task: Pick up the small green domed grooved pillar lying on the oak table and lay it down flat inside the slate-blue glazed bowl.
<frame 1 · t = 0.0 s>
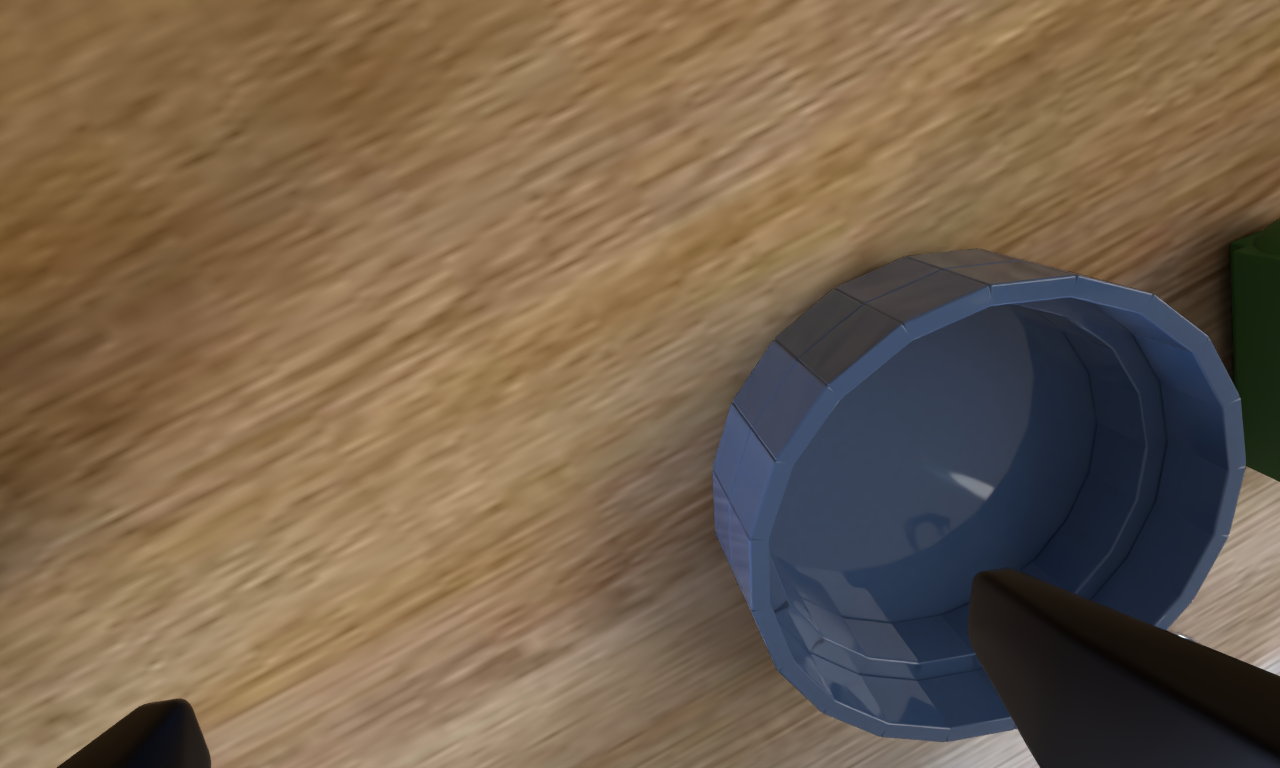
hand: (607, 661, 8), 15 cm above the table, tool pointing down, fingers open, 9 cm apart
bowl: (917, 462, 25), on the table
green domed grooved pillar: (1262, 340, 26), on the table
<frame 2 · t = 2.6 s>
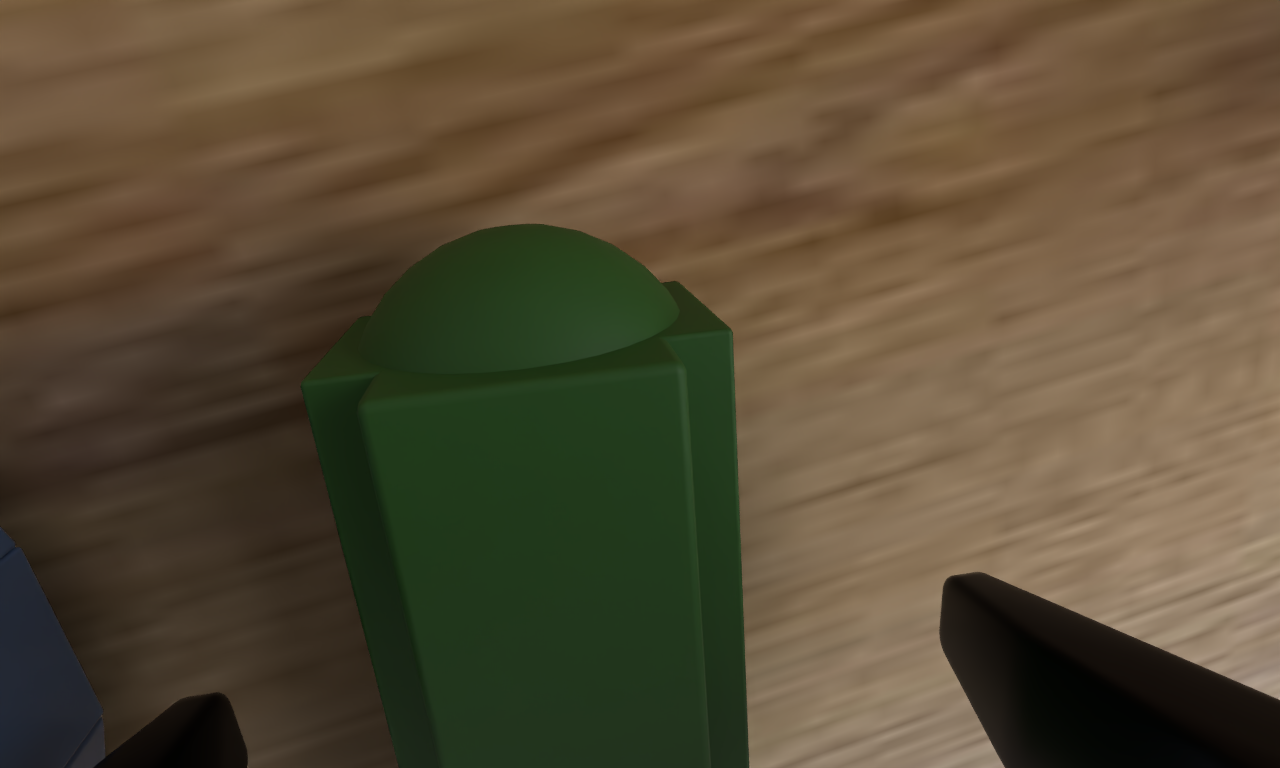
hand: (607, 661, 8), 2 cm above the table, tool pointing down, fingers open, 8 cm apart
green domed grooved pillar: (563, 583, 10), on the table
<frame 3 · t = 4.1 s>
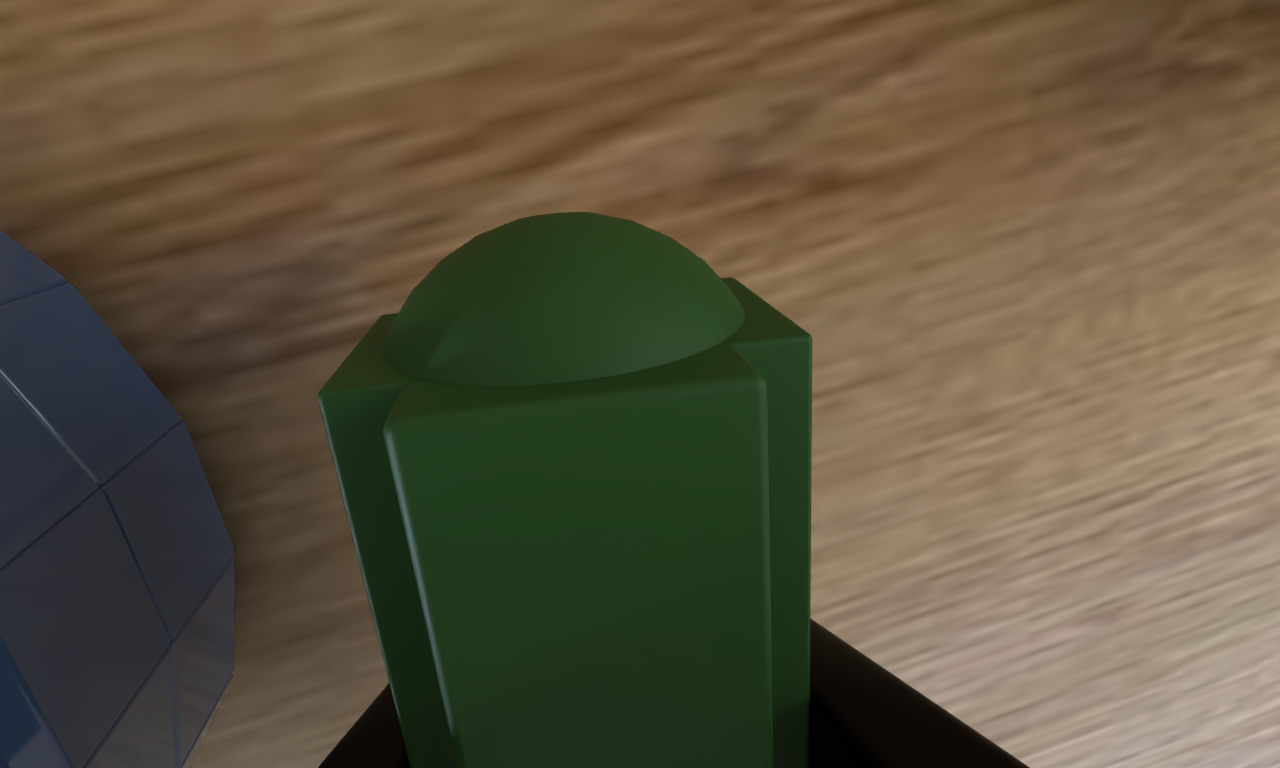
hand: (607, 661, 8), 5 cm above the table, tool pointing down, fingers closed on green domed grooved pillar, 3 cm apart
green domed grooved pillar: (597, 603, 9), point 4 cm above the table, touching gripper
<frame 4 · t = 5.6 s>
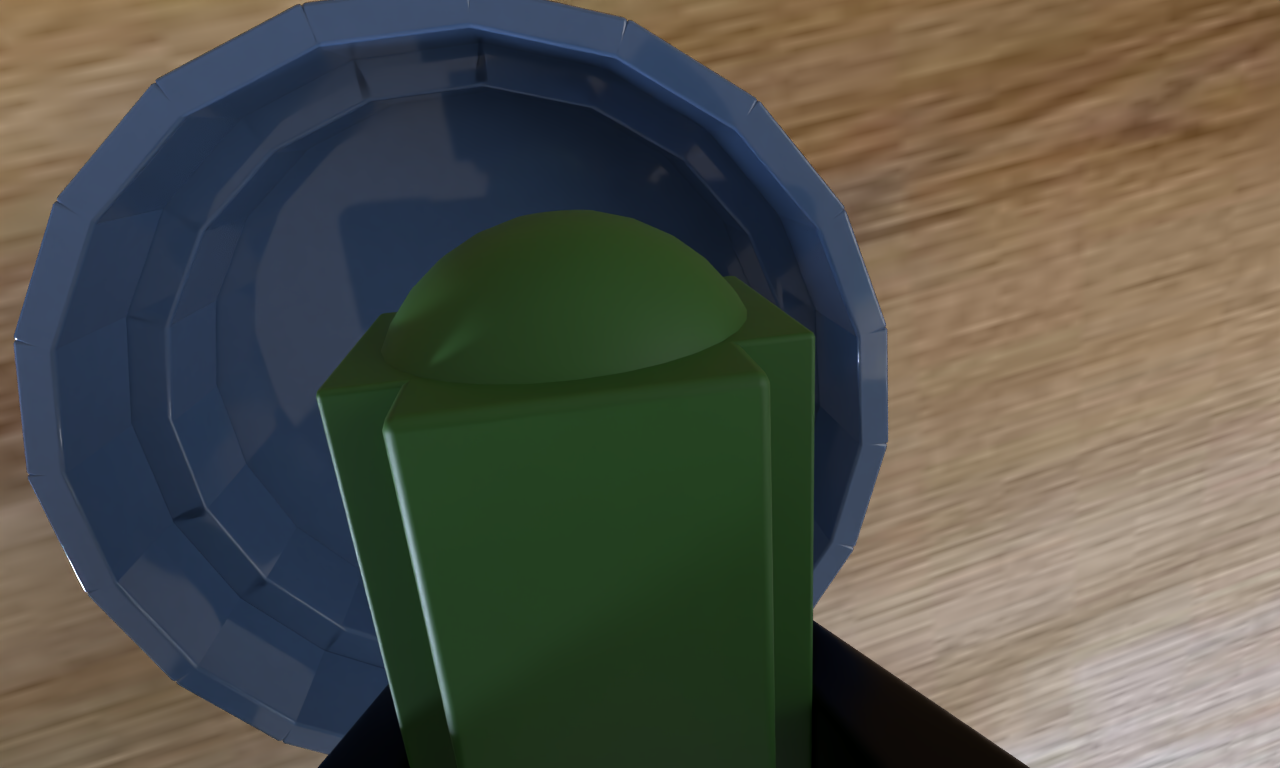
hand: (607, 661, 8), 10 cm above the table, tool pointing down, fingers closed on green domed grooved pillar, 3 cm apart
bowl: (503, 370, 18), on the table
green domed grooved pillar: (597, 603, 9), point 9 cm above the table, touching gripper
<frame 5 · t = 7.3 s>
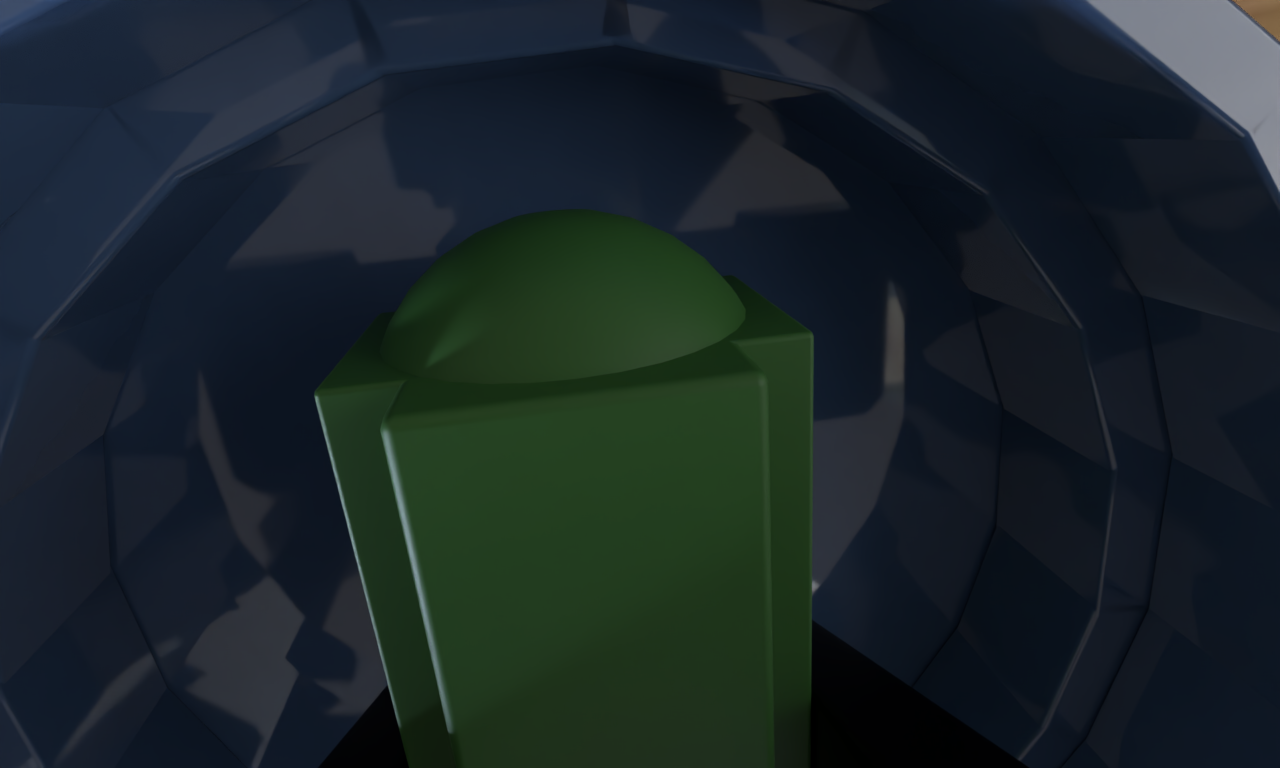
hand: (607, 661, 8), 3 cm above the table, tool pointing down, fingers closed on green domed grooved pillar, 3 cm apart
bowl: (589, 522, 11), on the table
green domed grooved pillar: (597, 603, 9), point 2 cm above the table, touching gripper
when the fingers open (2 cm above the table, at t = 8.0 s): green domed grooved pillar stays where it is, resting on bowl.
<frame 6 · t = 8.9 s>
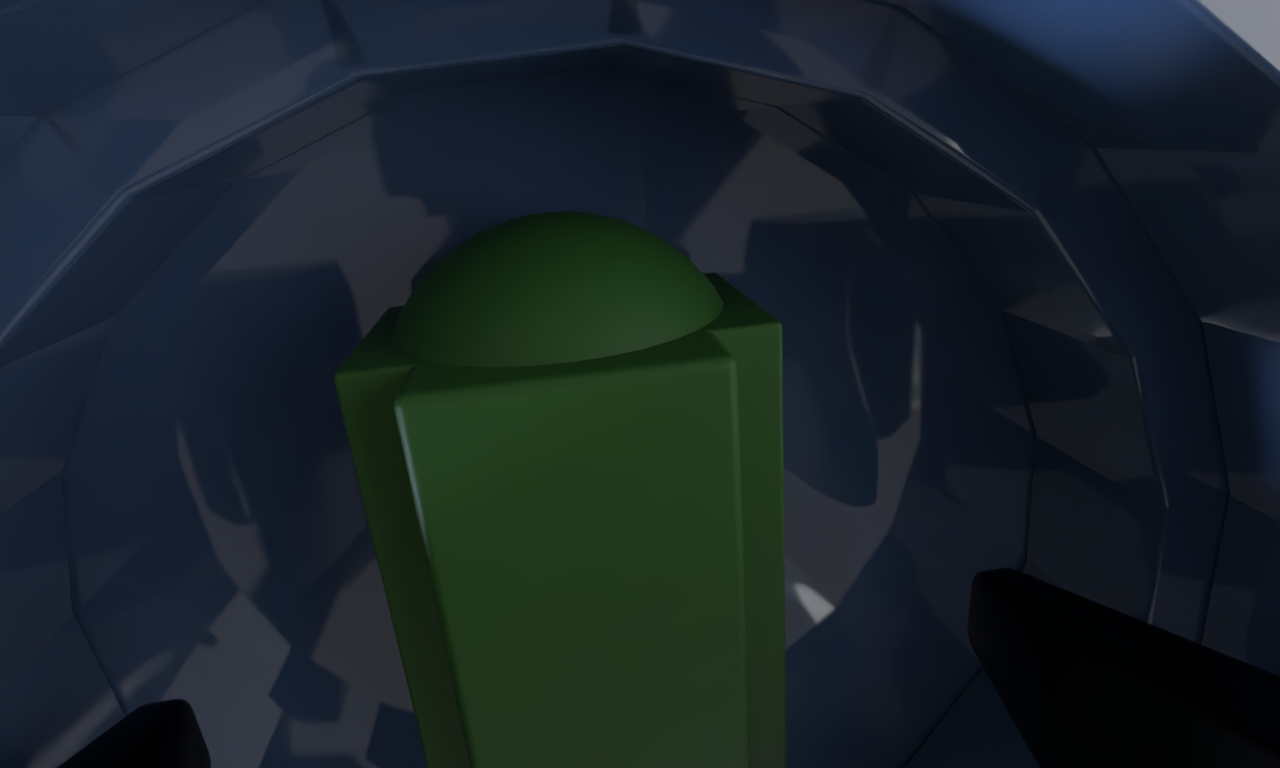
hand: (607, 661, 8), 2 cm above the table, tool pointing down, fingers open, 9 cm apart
bowl: (591, 556, 10), on the table
green domed grooved pillar: (591, 581, 10), point 1 cm above the table, touching bowl
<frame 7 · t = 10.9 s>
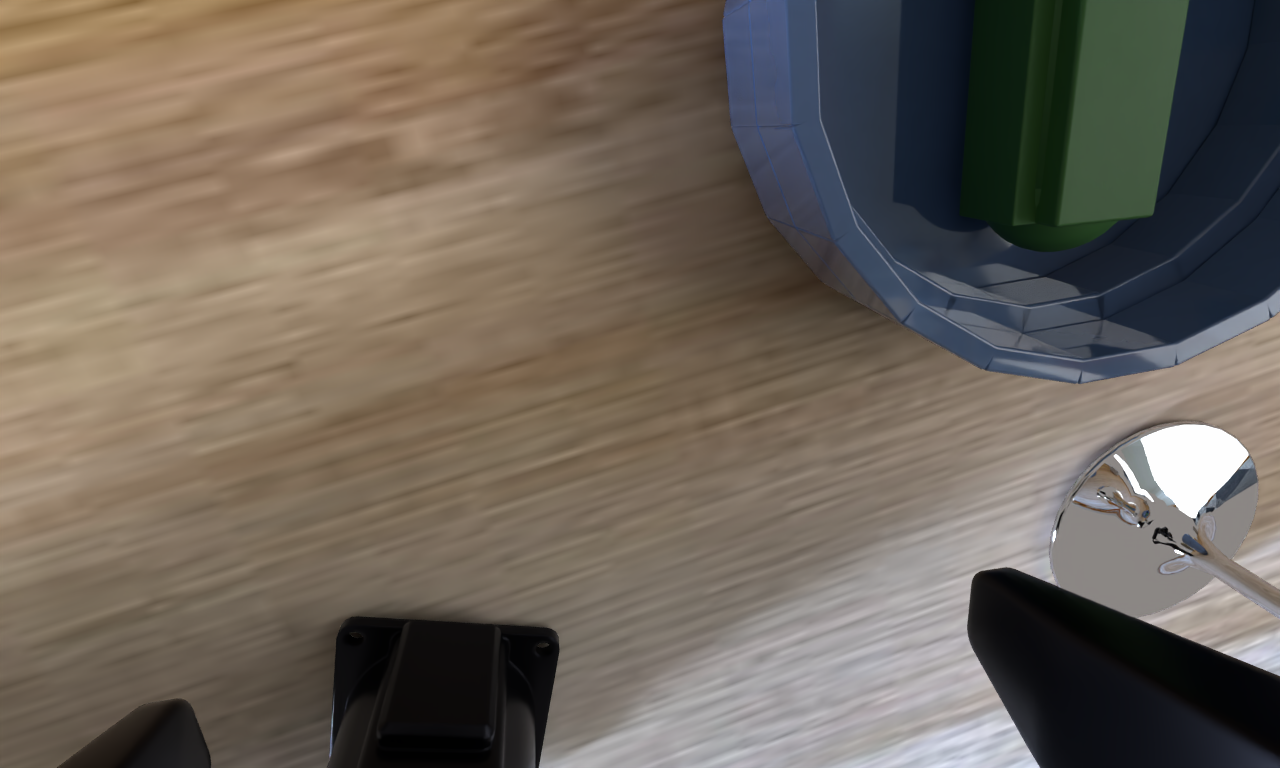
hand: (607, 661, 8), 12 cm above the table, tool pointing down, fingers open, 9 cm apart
bowl: (1008, 36, 18), on the table
wineglass: (1144, 518, 24), on the table
green domed grooved pillar: (1021, 33, 18), point 1 cm above the table, touching bowl
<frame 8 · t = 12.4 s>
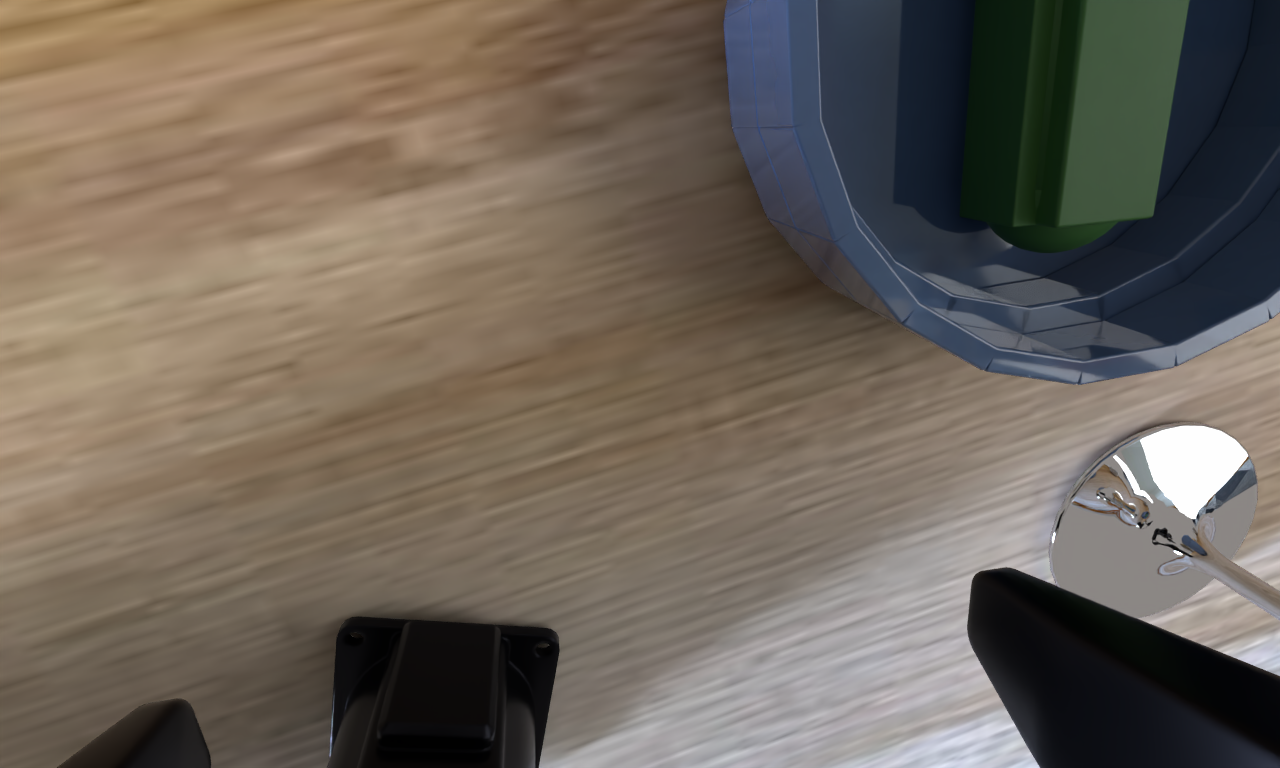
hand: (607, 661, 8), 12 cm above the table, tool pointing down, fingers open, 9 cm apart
bowl: (1008, 38, 18), on the table
wineglass: (1144, 519, 24), on the table
green domed grooved pillar: (1021, 35, 18), point 1 cm above the table, touching bowl
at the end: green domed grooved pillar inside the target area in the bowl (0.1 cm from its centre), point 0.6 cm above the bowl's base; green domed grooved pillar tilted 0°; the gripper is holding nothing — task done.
